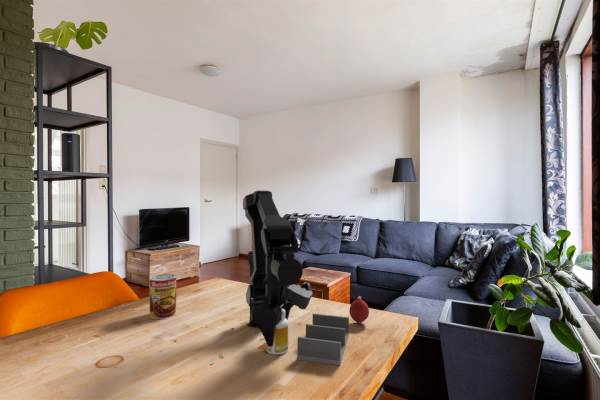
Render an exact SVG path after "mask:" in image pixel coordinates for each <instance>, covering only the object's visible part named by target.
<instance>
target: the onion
mask: <svg viewBox="0 0 600 400" xmlns="http://www.w3.org/2000/svg"><path fill="white" fill-rule="evenodd" d="M369 309H370V308H369V306H368V304H367V303H366V302H365V301H364V300H362V296H357V298H356V299H355V300H353V302H351V303H350V305H349V312H348V313H349V316H350V318H351V319H352V320H353V321H354V322H355V323H356V324H359V325H360V324H362V323H364V322H365V321H366V319H368V318H369V316H370V315H369V314H370V310H369Z"/></svg>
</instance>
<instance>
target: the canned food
mask: <svg viewBox="0 0 600 400" xmlns="http://www.w3.org/2000/svg"><path fill="white" fill-rule="evenodd" d="M148 282H149V285H148V286H149V291H148V292H149V298H148V299H149V318H150V319H153V320H162V319H167V318H168V319H169V318H171V317H173V316H175V315H176V314H177V275H176V274H173V273H164V274H163V273H162V274H155V275H152V276H150V277H149V281H148Z"/></svg>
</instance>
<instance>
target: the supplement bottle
mask: <svg viewBox="0 0 600 400" xmlns="http://www.w3.org/2000/svg"><path fill="white" fill-rule="evenodd" d="M281 309H282V308H281ZM285 315H286V314H285V310H284V309H282V316H281V319H282V320H281V321H280V322H279V323H278V324H277V325H276V330H275V337H274V343H273V346H272V347H271V346H268V345H267V343H265V344H266V346H265V347H266V352H267V353H269V354H270V355H275V356H277V355H283V354H286V353H288V349H289V319H288V320H287V319H286V318H285Z"/></svg>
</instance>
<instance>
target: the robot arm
mask: <svg viewBox="0 0 600 400" xmlns="http://www.w3.org/2000/svg"><path fill="white" fill-rule="evenodd" d="M242 210H244V213H245V214H244V216H245V218H246V219H247V220H248V222H249V223H250V225H251V226H250V228H251V243H252V244H251V245H252V257H253V273H252V274H251V276H250V278H249V280H248V281H249V285H247V289H246V293H245V302H246V304H247V306H248V307H249V322H247V323H246V324H247V325H246V326H247V327H255V328H259V331H260V333H261V334H262V336H263V339H264V341H265V342H266V343H267V345H268V346H271V347H272V346H273V343H274V337H275V330H276V325H277V324H278V323H279V322H280V321H281V320H282V319H281V316H282V309H284V310H285V314H286V315H285V318H286V319H287V320H288V321H289V317H290V313H291V310H292V308H293V307H294V306H295V307H298V309H300V310H307V307H308V306H309V304H310V301H311V299H312V297H313V290H312V288H311V284H310V283H309V282H306V281H305V282H304V283H302V284H301V285H300V284H297V283H298V282H300V280H301V278H302V277H303V275H304V274H303V271H304V270H303V266H302V264H301V262H300V261H299V260H297V259H295V254H298V253H299V246H300V244H299V241H298V238H297V236H296V232H295V230H294V227H292V225H291V224H290V222H289V221H288V219H286V218H284V217H283V216H281V215H280V212H279V210H278V208H277V206H276V204H275V201H274V198H273V193H272V191H270V190H255V191H253V193H249V194H247V195H245V196H244V198H243V200H242ZM296 284H297V285H296ZM281 308H282V309H281ZM266 343H265V344H266Z"/></svg>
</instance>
